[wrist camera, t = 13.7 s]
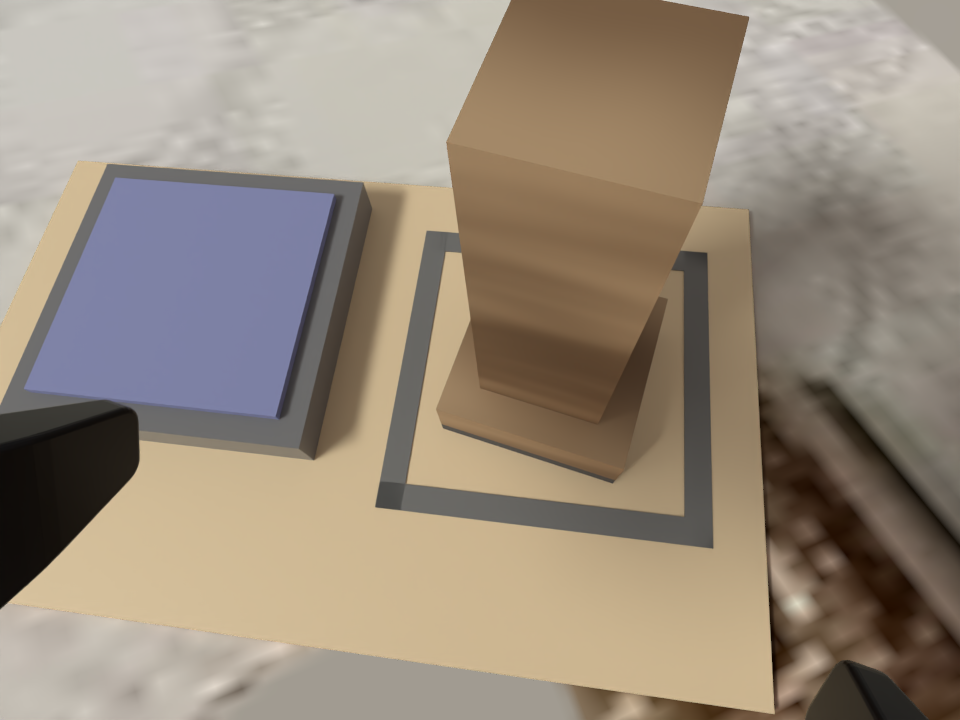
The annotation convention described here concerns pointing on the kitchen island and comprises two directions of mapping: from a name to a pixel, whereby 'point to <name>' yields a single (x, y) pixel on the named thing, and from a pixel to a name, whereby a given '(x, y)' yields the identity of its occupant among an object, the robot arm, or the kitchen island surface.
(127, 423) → the robot arm
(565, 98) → the walnut stamp
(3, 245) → the kitchen island surface
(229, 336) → the ink pad
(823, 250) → the kitchen island surface
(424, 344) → the board
